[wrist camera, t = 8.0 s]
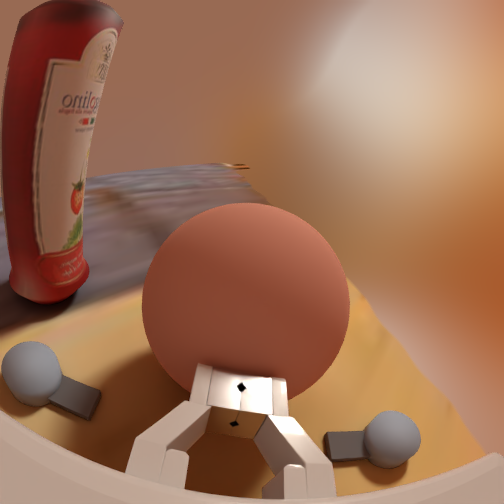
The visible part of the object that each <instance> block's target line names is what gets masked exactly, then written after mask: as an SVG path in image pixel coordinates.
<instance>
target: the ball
mask: <svg viewBox="0 0 504 504" xmlns="http://www.w3.org/2000/svg"><path fill="white" fill-rule="evenodd" d="M349 309H350V301H349V291H348V286H347V281H346V277H345V274H344V272H343V269H342V266H341V264H340V262H339V260H338V258H337V256H336V254H335V252H334V251H333V249H332V248H331V247H330V245H329V244H328V243H327V241H326V240H325V239H324V238H323V237H322V236H321V235H320V234H319V233H318V231H316V230H315V229H314V228H313V227H312V226H310V225H309V224H308V223H306V222H305V221H303V220H302V219H300V218H299V217H297V216H295V215H293V214H291V213H289V212H287V211H285V210H282V209H279V208H276V207H273V206H268V205H263V204H256V203H236V204H228V205H223V206H219V207H216V208H213V209H210V210H207V211H204V212H202V213H200V214H198V215H196V216H194V217H192V218H191V219H189V220H188V221H186V222H185V223H183V224H182V225H181V226H180V227H179V228H177V229H176V230H175V231H174V232H173V233H172V234H171V235H170V236H169V237H168V238H167V239H166V241H165V242H164V243H163V244H162V246H161V247H160V249H159V250H158V252H157V253H156V255H155V257H154V259H153V261H152V263H151V265H150V267H149V270H148V273H147V276H146V279H145V283H144V288H143V294H142V316H143V323H144V328H145V332H146V336H147V339H148V341H149V344H150V347H151V349H152V351H153V353H154V354H155V356H156V358H157V360H158V361H159V363H160V364H161V366H162V367H163V368H164V370H165V371H166V372H167V373H168V374H169V375H170V376H171V378H172V379H173V380H174V381H175V382H177V383H178V384H179V385H180V386H181V387H183V388H184V389H185V390H187V391H188V392H190V393H191V390H192V386H193V381H194V377H195V372H196V368H197V365H198V363H200V364H204V365H208V366H213V367H218V368H222V369H227V370H231V371H236V372H241V373H242V372H244V373H250V374H257V375H264V376H270V377H276V378H284V379H285V380H286V387H287V399H288V400H289V399H292V398H293V397H295V396H297V395H299V394H301V393H302V392H304V391H305V390H306V389H308V388H309V387H311V386H312V385H313V384H314V383H315V382H316V381H317V380H318V379H319V378H321V377H322V376H323V374H324V373H325V372H326V371H327V369H328V368H329V367H330V366H331V364H332V363H333V361H334V359H335V358H336V356H337V354H338V353H339V350H340V348H341V346H342V344H343V341H344V338H345V335H346V331H347V327H348V321H349Z"/></svg>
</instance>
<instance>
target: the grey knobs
mask: <svg viewBox="0 0 504 504" xmlns="http://www.w3.org/2000/svg"><path fill="white" fill-rule="evenodd" d="M1 369H2V375H3V378H4V380H5V382H6V383H7V385H8V387H9V389H10V390H11V392H12V394H13V395H14V396H15V398H16V399H17V400H19V401H20V402H22V403H23V404H26V405H29V406H43V405H46V404H48V403H52V404H54V405H56V406H58V407H60V408H62V409H64V410H66V411H69V412H71V413H73V414H75V415H77V416H80V417H82V418H84V419H87V420H89V421H90V420H91V417H92V415H93V413H94V410H95V408H96V406H97V404H98V401H99V399H100V397H101V391H100V390H98V389H95V388H92V387H90V386H87V385H85V384H82V383H80V382H78V381H75V380H73V379H71V378H68V377H66V376H64V375H63V374H62V371H61V368H60V365H59V362H58V360H57V357H56V355H55V353H54V352H53V351H52V350H51V349H50V348H49V347H48V346H46V345H44V344H42V343H39V342H32V341H30V342H23V343H20V344H17V345H16V346H14V347H12V348H11V349H10V350H9V351H8V352H7V353H6V355H5V357H4V359H3V361H2V368H1ZM324 437H325V443H326V449H327V456H328V459H329V461H330V462H339V461H352V460H362V459H368V460H369V461H370V462H371V463H373V464H374V465H376V466H378V467H381V468H387V469H390V468H395V467H398V466H399V465H401V464H402V463H404V462H405V461H406V460H408V459H409V458H410V457H412V456H413V455H414V454H415V453H416V452H417V451H418V449H419V447H420V442H421V437H420V433H419V430H418V428H417V426H416V424H415V423H414V422H413V421H412V420H411V419H410V418H409V417H408V416H406V415H405V414H403V413H400V412H397V411H385V412H382V413H380V414H378V415H377V416H376V417H375V418H374V419H373V420H372V421H371V422H370V423H369V424H368V425H367V426H366V427H365V429H364V430H363V431H348V432H327V433H326V434H325V435H324Z"/></svg>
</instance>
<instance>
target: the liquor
mask: <svg viewBox="0 0 504 504" xmlns="http://www.w3.org/2000/svg"><path fill="white" fill-rule="evenodd" d="M123 24H124V22H123V20H122V19H121V17H120V16H119V15H118V14H117V13H116V12H115V11H114V10H113V8H111V7H110V6H109V5H107V4H105V3H103V2H100V0H51V1H48V2H45V3H43V4H41V5H39V6H37V7H36V8H34V9H33V10H31V11H29V12H28V13H26V14H25V15H24V16H22V18H21V19H20V21H19V24H18V27H17V31H16V34H15V38H14V42H13V46H12V50H11V54H10V58H9V63H8V68H7V72H6V78H5V83H4V90H3V96H2V107H1V122H0V178H1V193H2V206H3V215H4V224H5V231H6V238H7V245H8V250H9V256H10V261H11V266H12V268H11V272H10V275H9V282H10V285H11V287H12V289H13V290H14V291H15V292H16V293H18V294H19V295H21V296H23V297H25V298H27V299H29V300H31V301H33V302H35V303H38V304H45V305H48V304H55V303H59V302H62V301H64V300H65V299H67V298H68V297H70V296H71V295H72V294H73V293H74V292H75V291H76V290H77V289H78V288H80V287H81V286H82V285H83V284H84V282H85V281H86V279H87V278H88V275H89V266H88V264H87V262H86V260H85V259H84V258H83V203H84V190H85V179H86V170H87V162H88V155H89V149H90V143H91V138H92V133H93V128H94V123H95V119H96V114H97V110H98V106H99V102H100V98H101V94H102V90H103V86H104V82H105V79H106V75H107V71H108V68H109V64H110V61H111V58H112V54H113V51H114V48H115V45H116V42H117V40H118V37H119V34H120V32H121V29H122V26H123Z"/></svg>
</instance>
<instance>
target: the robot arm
mask: <svg viewBox="0 0 504 504" xmlns="http://www.w3.org/2000/svg"><path fill="white" fill-rule="evenodd" d="M205 432H210V433H217V434H224V435H229V434H230V435H231V436H237V437H243V438H250V439H254V442H255V444H256V445H257V447H258V449H259V451H260V452H261V454H262V456H263V457H264V459H265V461H266V462H267V464H268V465H269V467H270V469H271V470H272V472H273V474H274V475H275V477H274V478H273V479H272V480H270V481H269V482H268V483H267V484H266V485H265V486H264V487H262V499H255V498H241V497H231V496H223V495H215V494H208V493H202V492H196V491H191V490H186V489H184V487H185V481H186V474H187V468H188V462H189V456H188V455H187V453H186V451H187V450H188V449H189V448H190V447H191V446H192V445H193V444H194V443H195V442H196V441H197V440H198V439H199V438H200V437H201V436H202V435H203V434H204V433H205ZM0 504H504V457H503V456H502V455H500V454H499V453H496V452H493V453H491V454H488V455H486V456H484V457H481V458H479V459H477V460H475V461H473V462H470V463H468V464H465V465H463V466H461V467H458V468H455V469H453V470H450V471H447V472H445V473H442V474H439V475H436V476H433V477H430V478H426V479H423V480H420V481H416V482H413V483H409V484H405V485H401V486H397V487H393V488H388V489H383V490H378V491H373V492H367V493H361V494H355V495H347V496H339V497H337V495H336V487H335V480H334V472H333V465H332V463H331V462H330V461H329V459H328V458H327V457H326V456H325V455H324V454H323V453H322V451H321V450H320V449H319V448H318V447H317V446H316V444H315V443H314V442H313V441H312V440H311V438H310V437H309V436H308V435H307V434H306V432H305V431H304V430H303V429H302V428H301V426H300V425H299V424H298V423H297V422H296V420H295V419H294V418H293V417H289V412H288V399H287V387H286V380H285V379H284V378H276V377H270V376H264V375H257V374H250V373H244V372H242V373H241V372H236V371H231V370H227V369H222V368H218V367H213V366H208V365H204V364H200V363H198V365H197V368H196V372H195V377H194V381H193V386H192V390H191V395H190V399H189V401H183V402H182V403H181V404H180V405H178V406H177V407H176V408H174V409H173V410H172V411H171V412H169V413H168V414H167V415H165V416H164V417H163V418H161V419H160V420H159V421H158V422H156V423H155V424H154V425H152V426H151V427H150V428H148V429H147V430H145V431H144V432H143V433H141V434H140V435H139V436H137V437H136V438H135V442H134V445H133V448H132V451H131V454H130V458H129V461H128V464H127V468H126V471H125V473H123V472H120V471H117V470H114V469H111V468H109V467H106V466H103V465H101V464H98V463H96V462H94V461H91V460H89V459H86V458H84V457H82V456H80V455H77V454H75V453H73V452H71V451H69V450H67V449H65V448H63V447H61V446H59V445H57V444H55V443H53V442H51V441H49V440H48V439H46V438H44V437H42V436H40V435H39V434H37V433H35V432H33V431H32V430H30V429H28V428H27V427H25V426H24V425H22V424H20V423H19V422H17V421H16V420H14V419H13V418H11V417H10V416H8V415H7V414H6V413H4V412H3V411H1V410H0Z"/></svg>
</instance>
